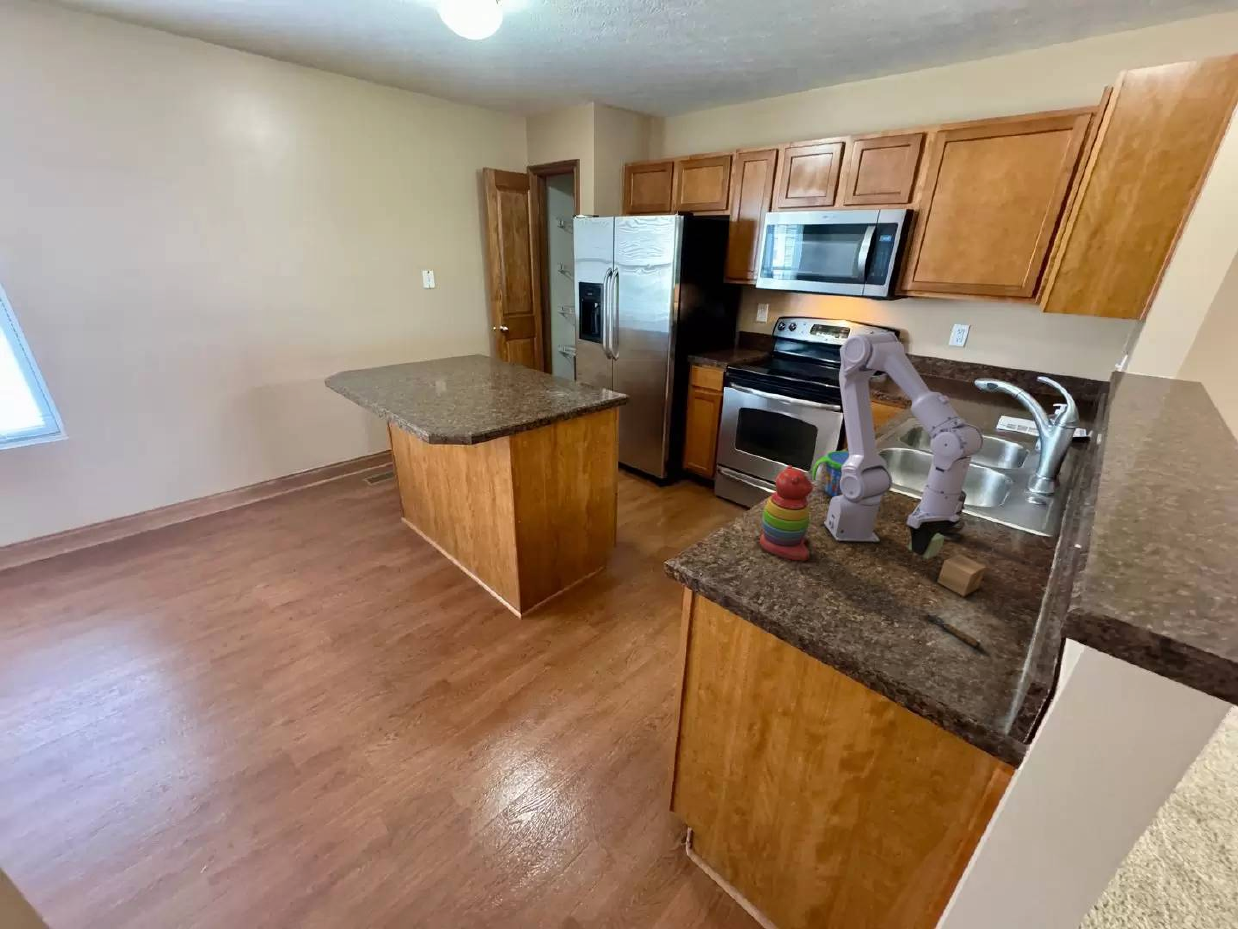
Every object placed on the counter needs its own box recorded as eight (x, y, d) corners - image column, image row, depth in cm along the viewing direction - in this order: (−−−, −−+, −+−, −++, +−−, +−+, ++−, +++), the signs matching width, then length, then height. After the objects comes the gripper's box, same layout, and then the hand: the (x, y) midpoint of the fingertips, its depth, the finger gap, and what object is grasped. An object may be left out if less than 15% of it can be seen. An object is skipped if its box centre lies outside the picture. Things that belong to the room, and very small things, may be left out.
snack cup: (869, 489, 137) (878, 454, 132) (876, 507, 127) (885, 470, 123) (808, 481, 140) (814, 447, 136) (809, 498, 131) (817, 462, 127)
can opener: (979, 647, 83) (982, 642, 83) (970, 651, 82) (972, 646, 82) (930, 613, 91) (931, 608, 90) (920, 616, 90) (922, 611, 90)
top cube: (927, 559, 99) (933, 541, 97) (908, 549, 102) (913, 531, 100) (939, 553, 101) (945, 536, 99) (919, 543, 104) (925, 526, 102)
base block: (963, 596, 96) (971, 574, 94) (937, 582, 100) (944, 560, 98) (977, 588, 98) (986, 566, 96) (951, 574, 102) (958, 553, 100)
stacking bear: (810, 562, 105) (826, 484, 97) (759, 556, 106) (771, 478, 99) (804, 535, 114) (818, 462, 107) (757, 530, 116) (768, 457, 109)
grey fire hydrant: (959, 544, 112) (975, 495, 108) (929, 535, 116) (943, 487, 111) (962, 533, 117) (978, 486, 112) (933, 525, 120) (947, 478, 115)
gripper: (942, 505, 89) (922, 570, 95) (986, 488, 96) (965, 549, 102) (904, 489, 95) (887, 551, 100) (948, 474, 102) (930, 533, 107)
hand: (924, 549), depth 101 cm, fingers closed on top cube, 4 cm apart
